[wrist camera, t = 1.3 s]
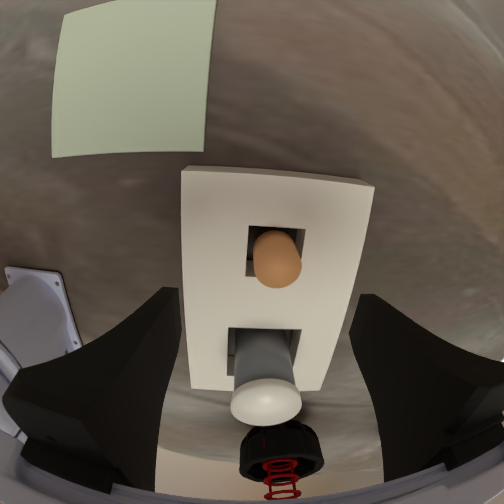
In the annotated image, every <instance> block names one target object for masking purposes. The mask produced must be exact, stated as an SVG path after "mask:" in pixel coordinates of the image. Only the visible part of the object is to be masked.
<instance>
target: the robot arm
mask: <svg viewBox="0 0 504 504" xmlns="http://www.w3.org/2000/svg"><path fill="white" fill-rule="evenodd" d="M5 274H6V277H7V281H8V284H9V287H8V288H7V289H6V290H5V291H4V292H3V293H2V294H1V295H0V502H1V503H3V504H486V503H488V502H489V501H491V500H492V499H493V498H495V497H496V496H498V495H499V494H500V493H502V492H503V491H504V427H503V425H502V424H501V422H503V421H504V416H503V414H502V411H503V410H504V362H500V361H495V360H491V359H488V358H485V357H482V356H479V355H476V354H473V353H471V352H468V351H466V350H464V349H461V348H459V347H457V346H455V345H453V344H450V343H449V342H447V341H445V340H443V339H441V338H439V337H437V336H436V335H434V334H432V333H431V332H429V331H428V330H426V329H425V328H423V327H421V326H420V325H418V324H417V323H415V322H414V321H413V320H411V319H410V318H408V317H407V316H405V315H404V314H403V313H401V312H400V311H398V310H397V309H396V308H394V307H393V306H391V305H390V304H389V303H387V302H386V301H384V300H383V299H381V298H380V297H378V296H376V295H375V294H361V295H360V298H359V302H358V305H357V308H356V312H355V315H354V318H353V322H352V325H351V328H350V331H349V336H350V340H351V345H352V349H353V352H354V355H355V358H356V360H357V363H358V365H359V368H360V371H361V373H362V375H363V378H364V380H365V383H366V385H367V388H368V391H369V393H370V396H371V399H372V402H373V406H374V410H375V414H376V418H377V423H378V428H379V434H380V440H381V447H382V456H383V469H384V483H381V484H377V485H373V486H369V487H365V488H361V489H356V490H351V491H346V492H341V493H335V494H328V495H322V496H314V497H306V498H296V499H283V500H266V501H265V500H261V501H235V500H213V499H201V498H190V497H182V496H175V495H168V494H162V493H155V468H156V454H157V444H158V435H159V427H160V420H161V413H162V407H163V402H164V398H165V394H166V390H167V387H168V384H169V380H170V377H171V373H172V370H173V367H174V363H175V360H176V357H177V353H178V349H179V343H180V337H181V331H182V327H181V317H180V305H179V292H178V288H172V287H162V288H161V289H160V290H159V291H157V292H156V293H155V294H154V295H153V296H152V297H151V298H150V299H148V300H147V301H146V302H145V303H144V304H143V305H142V306H141V307H139V308H138V309H137V310H136V311H135V312H134V313H132V314H131V315H130V316H128V317H127V318H126V319H125V320H123V321H122V322H121V323H119V324H118V325H117V326H116V327H114V328H113V329H111V330H110V331H108V332H107V333H105V334H104V335H102V336H100V337H99V338H97V339H95V340H94V341H92V342H90V343H88V344H86V345H84V346H82V343H81V341H80V338H79V335H78V332H77V329H76V326H75V323H74V320H73V316H72V313H71V310H70V306H69V303H68V299H67V296H66V292H65V288H64V284H63V280H62V277H61V275H60V274H59V273H57V272H50V271H42V270H33V269H25V268H18V267H10V266H7V267H6V268H5ZM58 283H59V284H58ZM24 443H25V444H24Z"/></svg>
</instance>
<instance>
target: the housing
mask: <svg viewBox="0 0 504 504" xmlns="http://www.w3.org/2000/svg"><path fill="white" fill-rule="evenodd" d="M374 189H375V187H374V186H372V185H370V184H368V183H366V182H364V181H362V180H360V179H353V178H346V177H338V176H331V175H322V174H314V173H304V172H294V171H284V170H272V169H259V168H243V167H225V166H198V165H189V166H187V167H186V168H185V169H183V170H182V171H181V241H182V272H183V292H184V309H185V324H186V336H187V348H188V359H189V369H190V378H191V387H192V388H194V389H207V390H222V391H234V365H235V356H228V328H229V327H236V328H261V329H293V333H292V338H291V343H290V348H289V352H290V358H291V363H292V368H293V374H294V379H295V385H296V387H297V388H298V390H299V391H317V390H320V388H321V386H322V383H323V380H324V378H325V375H326V372H327V369H328V366H329V364H330V361H331V358H332V355H333V352H334V349H335V346H336V343H337V340H338V337H339V333H340V330H341V327H342V324H343V320H344V317H345V314H346V310H347V307H348V303H349V300H350V296H351V293H352V289H353V285H354V281H355V278H356V274H357V270H358V266H359V262H360V257H361V253H362V249H363V244H364V240H365V235H366V231H367V226H368V221H369V216H370V211H371V206H372V200H373V195H374ZM249 225H252V226H268V227H284V228H297V235H296V243H295V247H296V249H297V251H298V254H299V256H300V259H301V262H302V270H301V273H300V275H299V277H298V278H297V280H296V281H295V282H293V283H292V284H291V285H289V286H287V287H284V288H270V287H267V286H265V285H263V284H262V283H261V282H259V280H258V279H257V278H256V275H255V272H254V261H253V260H246V256H247V242H248V228H249Z"/></svg>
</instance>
